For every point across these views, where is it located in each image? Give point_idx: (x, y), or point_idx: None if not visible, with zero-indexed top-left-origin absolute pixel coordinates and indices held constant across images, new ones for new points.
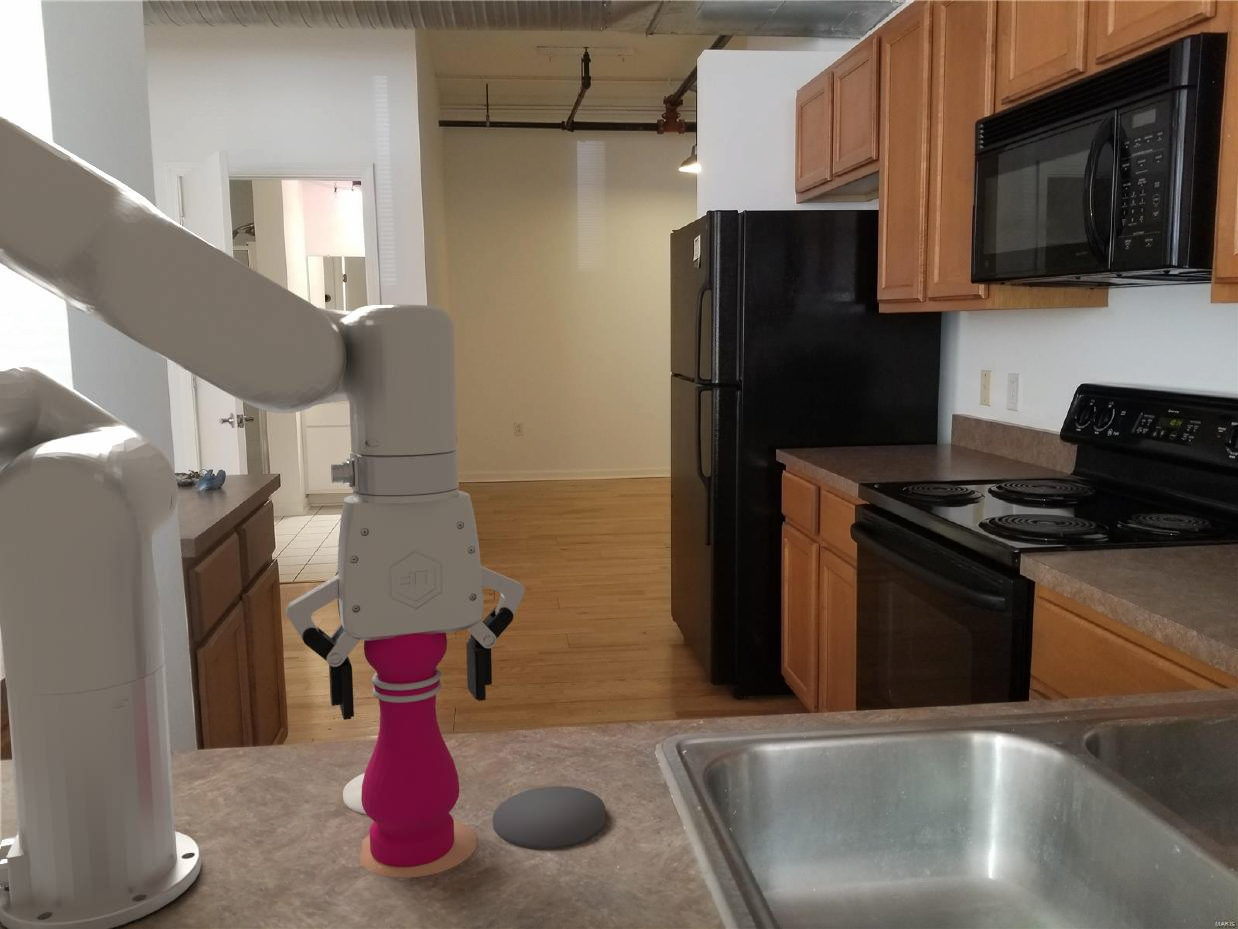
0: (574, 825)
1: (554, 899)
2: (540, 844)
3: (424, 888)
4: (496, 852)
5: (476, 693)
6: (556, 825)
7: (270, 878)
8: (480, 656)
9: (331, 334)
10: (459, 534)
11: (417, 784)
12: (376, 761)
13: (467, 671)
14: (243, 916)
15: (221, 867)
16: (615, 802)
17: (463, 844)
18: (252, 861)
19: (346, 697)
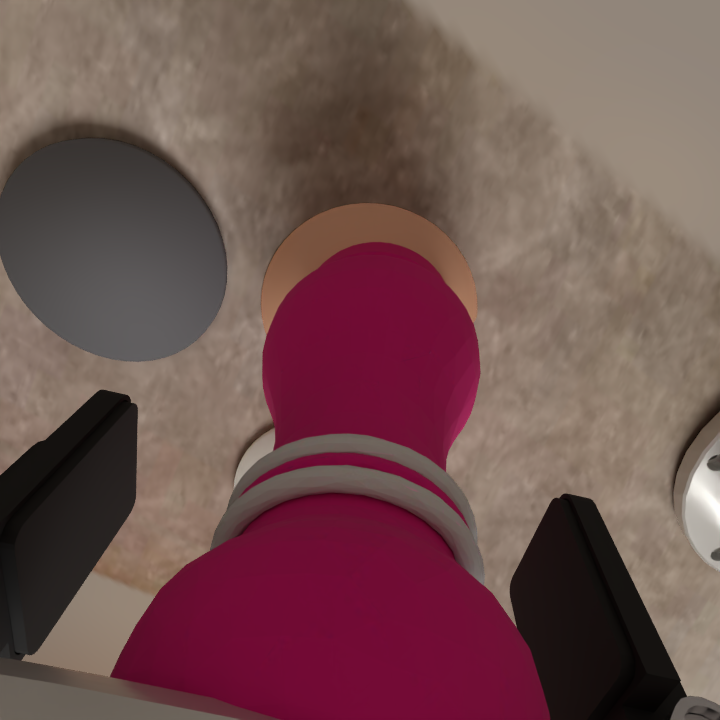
0: (80, 181)
1: None
2: (167, 166)
3: (420, 164)
4: (252, 206)
5: (122, 412)
6: (114, 207)
7: (616, 357)
8: (1, 506)
9: None
10: None
11: (393, 291)
12: (461, 403)
13: (103, 547)
14: (712, 269)
15: (658, 431)
16: None
17: (296, 268)
18: (612, 421)
19: (609, 551)
